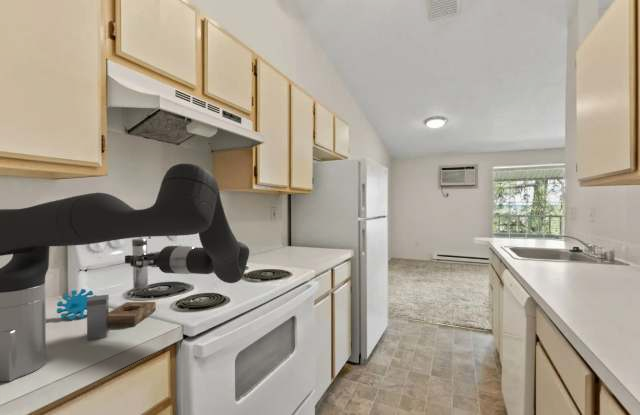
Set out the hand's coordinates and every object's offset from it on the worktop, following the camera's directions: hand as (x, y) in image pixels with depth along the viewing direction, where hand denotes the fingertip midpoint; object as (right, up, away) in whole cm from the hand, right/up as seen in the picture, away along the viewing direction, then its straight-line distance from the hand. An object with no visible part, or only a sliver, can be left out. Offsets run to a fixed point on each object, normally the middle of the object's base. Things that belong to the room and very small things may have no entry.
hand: (132, 258), depth 90 cm
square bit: (-3, -19, -10) cm, 21 cm away
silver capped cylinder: (+3, -8, -1) cm, 9 cm away
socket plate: (-2, -18, +2) cm, 19 cm away
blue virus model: (-19, -19, +4) cm, 27 cm away
